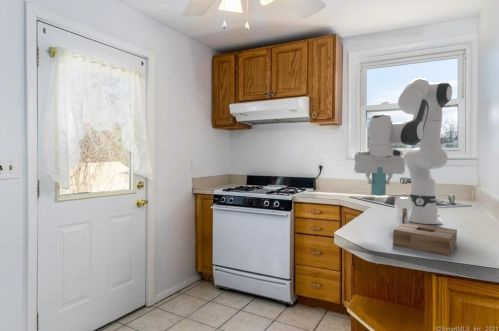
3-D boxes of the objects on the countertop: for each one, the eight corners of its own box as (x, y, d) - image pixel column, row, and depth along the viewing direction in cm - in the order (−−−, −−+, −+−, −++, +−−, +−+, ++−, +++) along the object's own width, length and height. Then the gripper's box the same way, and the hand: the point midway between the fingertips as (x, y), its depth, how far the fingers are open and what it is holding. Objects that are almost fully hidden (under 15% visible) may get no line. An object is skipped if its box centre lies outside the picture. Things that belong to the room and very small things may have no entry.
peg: (377, 194, 133) (378, 166, 133) (385, 195, 130) (386, 167, 129) (371, 194, 131) (372, 166, 131) (379, 195, 128) (379, 167, 127)
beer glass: (390, 228, 142) (391, 197, 142) (401, 228, 145) (403, 196, 144) (402, 232, 136) (404, 199, 135) (414, 231, 138) (415, 198, 138)
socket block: (405, 236, 129) (406, 222, 129) (456, 245, 117) (456, 229, 117) (392, 245, 116) (393, 229, 115) (448, 256, 104) (449, 238, 104)
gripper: (356, 151, 128) (355, 184, 128) (407, 152, 126) (406, 185, 127) (352, 151, 134) (352, 182, 134) (400, 152, 132) (399, 183, 133)
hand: (378, 184), depth 130 cm, fingers closed on peg, 5 cm apart
